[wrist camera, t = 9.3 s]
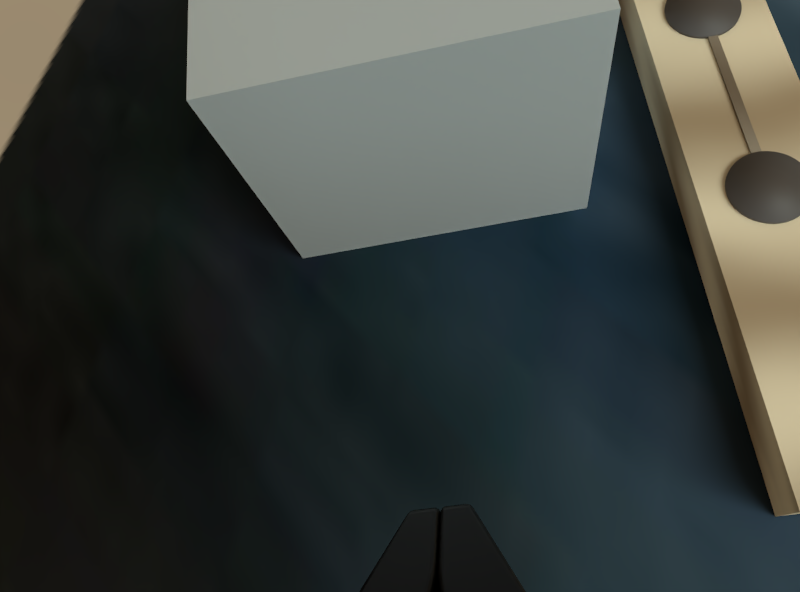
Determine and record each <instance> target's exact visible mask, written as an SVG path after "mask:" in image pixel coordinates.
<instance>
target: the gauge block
mask: <svg viewBox="0 0 800 592" xmlns="http://www.w3.org/2000/svg"><path fill="white" fill-rule="evenodd" d="M620 10H621V8H620V4H619V1H618V0H188V44H187V93H186V101H187V102H188V103H189V105H190V106H191V107H192V109H193V110H194V111H195V113H196V114H197V116H198V117H199V118H200V120H201V121H202V122H203V124H204V125H205V126H206V128H207V129H208V130H209V132H210V133H211V135H212V136H213V137H214V139H215V140H216V141H217V143H218V144H219V145H220V147H221V148H222V149H223V151H224V152H225V153H226V155H227V156H228V158H229V159H230V160H231V162H232V163H233V164H234V166H235V167H236V168H237V170H238V171H239V172H240V174H241V175H242V176H243V178H244V179H245V181H246V182H247V183H248V185H249V186H250V187H251V189H252V190H253V191H254V193H255V194H256V195H257V197H258V198H259V199H260V201H261V202H262V204H263V205H264V206H265V208H266V209H267V210H268V212H269V213H270V214H271V216H272V217H273V218H274V220H275V221H276V223H277V224H278V225H279V227H280V228H281V229H282V231H283V232H284V233H285V235H286V236H287V237H288V239H289V240H290V241H291V243H292V244H293V246H294V247H295V248H296V250H297V251H298V252H299V254H300V255H301V256H302V258H307V257H313V256H319V255H324V254H330V253H336V252H341V251H347V250H352V249H358V248H364V247H369V246H375V245H381V244H386V243H392V242H397V241H403V240H409V239H414V238H420V237H426V236H431V235H437V234H443V233H448V232H454V231H459V230H465V229H471V228H476V227H482V226H488V225H493V224H499V223H504V222H510V221H516V220H521V219H527V218H533V217H538V216H544V215H550V214H555V213H561V212H566V211H572V210H578V209H583V208H587V204H588V199H589V193H590V187H591V181H592V175H593V169H594V163H595V157H596V151H597V145H598V139H599V134H600V128H601V122H602V116H603V110H604V104H605V98H606V92H607V86H608V80H609V74H610V69H611V63H612V57H613V51H614V45H615V39H616V33H617V27H618V21H619V15H620Z"/></svg>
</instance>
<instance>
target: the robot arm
mask: <svg viewBox="0 0 800 592" xmlns="http://www.w3.org/2000/svg"><path fill="white" fill-rule="evenodd" d="M360 592H526V591H525V590H524V588H523V587H522V585H521V583H520V582H519V580H518V579H517V577H516V575H515V574H514V572H513V571H512V569H511V567H510V566H509V564H508V563H507V561H506V559H505V558H504V556H503V555H502V553H501V551H500V550H499V548H498V547H497V545H496V543H495V542H494V540H493V538H492V537H491V535H490V534H489V532H488V530H487V529H486V527H485V526H484V524H483V522H482V521H481V519H480V518H479V516H478V514H477V513H476V511H475V510H474V508H473V507H472V506H471V505H469V504H462V505H454V506H446V507H443V508H442V510H441V512H440V510H439V509H437V508H428V509H420V510H413V511H411V512H409V513H408V514H407V516H406V518H405V519H404V521H403V522H402V524H401V526H400V527H399V529H398V530H397V532H396V534H395V535H394V537H393V538H392V540H391V542H390V543H389V545H388V546H387V548H386V550H385V551H384V553H383V555H382V556H381V558H380V559H379V561H378V563H377V564H376V566H375V567H374V569H373V571H372V572H371V574H370V575H369V577H368V579H367V580H366V582H365V584H364V585H363V587H362V588H361V590H360Z"/></svg>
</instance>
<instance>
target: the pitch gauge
mask: <svg viewBox="0 0 800 592" xmlns="http://www.w3.org/2000/svg"><path fill="white" fill-rule="evenodd" d="M618 1H619V4H620V8H621V10H620V17H621V20H622V23H623V26H624V30H625V33H626V36H627V39H628V43H629V46H630V49H631V52H632V55H633V59H634V62H635V65H636V68H637V72H638V75H639V78H640V81H641V85H642V88H643V91H644V94H645V97H646V101H647V104H648V107H649V110H650V114H651V117H652V120H653V123H654V127H655V130H656V133H657V136H658V139H659V143H660V146H661V149H662V152H663V156H664V159H665V162H666V165H667V168H668V172H669V175H670V178H671V181H672V185H673V188H674V191H675V194H676V198H677V201H678V204H679V207H680V210H681V214H682V217H683V220H684V223H685V227H686V230H687V233H688V236H689V239H690V243H691V246H692V249H693V252H694V256H695V259H696V262H697V265H698V269H699V272H700V275H701V278H702V281H703V285H704V288H705V291H706V294H707V298H708V301H709V304H710V307H711V310H712V314H713V317H714V320H715V323H716V327H717V330H718V333H719V336H720V340H721V343H722V346H723V349H724V352H725V356H726V359H727V362H728V365H729V369H730V372H731V375H732V378H733V381H734V385H735V388H736V391H737V394H738V398H739V401H740V404H741V407H742V411H743V414H744V417H745V420H746V423H747V427H748V430H749V433H750V436H751V440H752V443H753V446H754V449H755V452H756V456H757V459H758V462H759V465H760V469H761V472H762V475H763V478H764V482H765V485H766V488H767V491H768V494H769V498H770V501H771V504H772V507H773V511H774V514H775V517H776V516H784V515H793V514H800V81H799V78H798V76H797V74H796V71H795V69H794V67H793V64H792V62H791V59H790V57H789V55H788V52H787V50H786V48H785V45H784V43H783V41H782V38H781V36H780V34H779V31H778V29H777V27H776V24H775V22H774V20H773V17H772V15H771V12H770V10H769V8H768V5H767V3H766V1H765V0H618Z"/></svg>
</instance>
